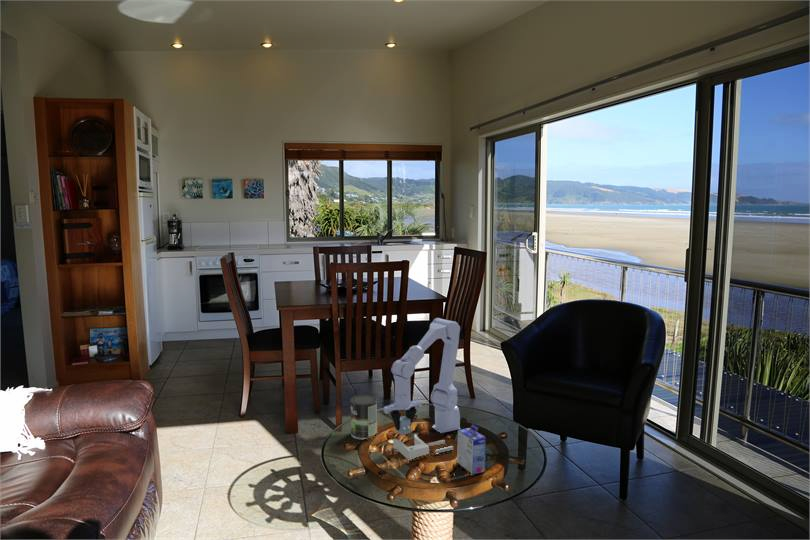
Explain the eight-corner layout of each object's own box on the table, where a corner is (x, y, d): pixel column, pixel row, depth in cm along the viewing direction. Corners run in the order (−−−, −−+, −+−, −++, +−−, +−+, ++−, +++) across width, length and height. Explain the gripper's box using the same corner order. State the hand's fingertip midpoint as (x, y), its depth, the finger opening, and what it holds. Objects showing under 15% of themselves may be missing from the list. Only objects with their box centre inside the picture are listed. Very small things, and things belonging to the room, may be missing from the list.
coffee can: (355, 441, 216) (354, 405, 214) (347, 431, 226) (347, 397, 224) (381, 437, 220) (380, 402, 218) (372, 427, 230) (372, 393, 228)
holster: (443, 444, 213) (443, 439, 212) (453, 452, 207) (453, 446, 206) (427, 448, 210) (426, 443, 209) (436, 456, 203) (436, 450, 203)
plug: (405, 428, 214) (405, 415, 214) (411, 433, 210) (411, 420, 209) (396, 430, 213) (395, 417, 212) (402, 435, 208) (402, 422, 207)
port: (416, 444, 214) (416, 432, 213) (431, 456, 203) (431, 444, 203) (392, 449, 209) (392, 438, 209) (406, 462, 199) (406, 450, 199)
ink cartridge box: (486, 471, 192) (486, 430, 190) (472, 475, 190) (472, 434, 188) (469, 459, 201) (470, 420, 199) (456, 463, 198) (456, 423, 196)
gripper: (389, 399, 203) (389, 436, 205) (425, 393, 209) (425, 428, 211) (381, 393, 209) (381, 428, 211) (416, 387, 216) (416, 421, 218)
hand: (403, 428), depth 212 cm, fingers closed on plug, 4 cm apart
